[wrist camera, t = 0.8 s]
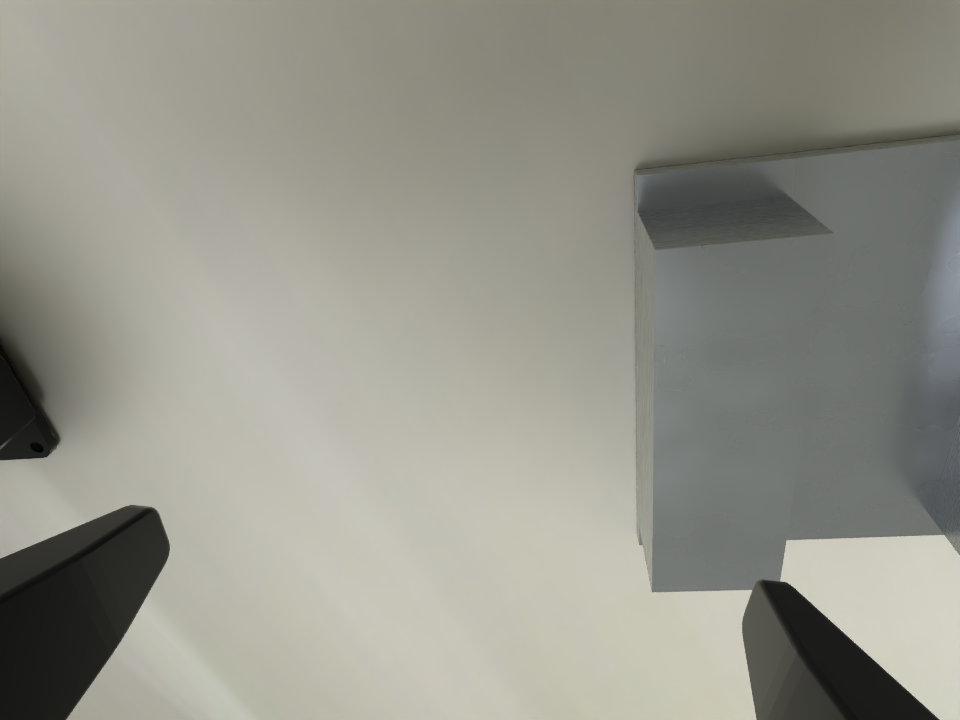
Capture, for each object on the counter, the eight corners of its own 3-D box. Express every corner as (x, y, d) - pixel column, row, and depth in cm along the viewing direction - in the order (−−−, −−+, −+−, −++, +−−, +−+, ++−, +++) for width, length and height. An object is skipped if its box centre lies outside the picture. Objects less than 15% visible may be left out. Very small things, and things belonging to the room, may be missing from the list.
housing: (637, 533, 24) (651, 611, 21) (634, 170, 18) (655, 208, 14) (1034, 518, 23) (1113, 602, 20) (1206, 107, 16) (1372, 135, 13)
